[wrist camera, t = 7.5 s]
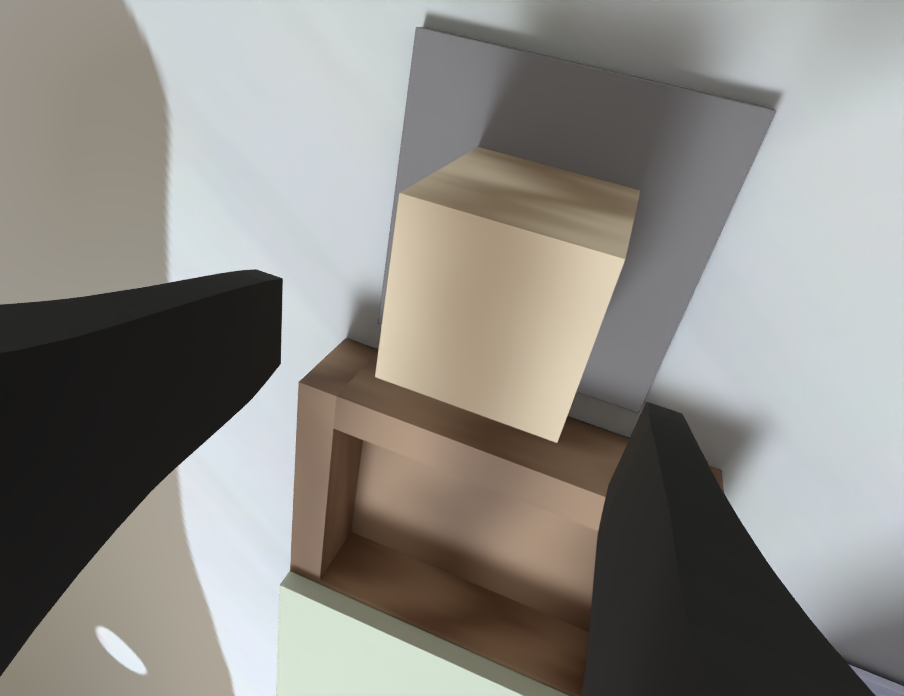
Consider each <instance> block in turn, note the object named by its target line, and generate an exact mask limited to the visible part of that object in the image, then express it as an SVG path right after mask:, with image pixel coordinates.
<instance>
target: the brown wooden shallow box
mask: <svg viewBox="0 0 904 696" xmlns="http://www.w3.org/2000/svg"><path fill="white" fill-rule="evenodd" d="M377 358H378V349H375V348H372V347H369V346H366V345H363V344H361V343H358V342H355V341H352V340H349V339H344V340H343V341H342V342H341V343H340V344H339V345H338V346H337V347H336V348H335V349H334V350H333V351H332V352H330V353H329V354H328V355H327V356H326V357H325V358H324V359H323V360H322V361H321V362H320V363H319V364H318V365H317V366H315V367H314V368H313V369H312V370H311V371H310V372H309V373H308V374H307V375H306V376H305V377H304V378H303V379H302V380H300V381H299V388H298V410H297V432H296V454H295V476H294V498H293V520H292V542H291V564H290V571H291V572H293V573H295V574H298V575H300V576H302V577H304V578H307V579H309V580H311V581H313V582H315V583H318V584H320V585H322V586H324V587H327V588H329V589H331V590H333V591H336V592H338V593H340V594H342V595H345V596H347V597H349V598H351V599H354V600H356V601H358V602H360V603H362V604H365V605H367V606H369V607H371V608H374V609H376V610H378V611H380V612H383V613H385V614H387V615H389V616H392V617H394V618H396V619H398V620H401V621H403V622H405V623H407V624H409V625H412V626H414V627H416V628H418V629H421V630H423V631H425V632H427V633H430V634H432V635H434V636H436V637H439V638H441V639H443V640H445V641H448V642H450V643H452V644H454V645H456V646H459V647H461V648H463V649H465V650H468V651H470V652H472V653H474V654H477V655H479V656H481V657H483V658H486V659H488V660H490V661H492V662H495V663H497V664H499V665H501V666H503V667H506V668H508V669H510V670H512V671H515V672H517V673H519V674H521V675H524V676H526V677H528V678H530V679H533V680H535V681H537V682H539V683H542V684H544V685H546V686H548V687H550V688H553V689H555V690H557V691H559V692H562V693H564V694H566V695H568V696H581V693H582V688H583V682H584V675H585V667H586V659H587V651H588V639H589V627H590V615H591V603H592V591H593V579H594V568H595V557H596V545H597V535H598V530H599V525H600V520H601V516H602V511H603V506H604V502H605V498H606V493H607V489H608V485H609V483H610V480H611V478H612V476H613V474H614V472H615V470H616V467H617V465H618V463H619V461H620V459H621V457H622V454H623V452H624V450H625V448H626V446H627V443H628V441H629V439H630V438H627V437H624V436H621V435H618V434H616V433H613V432H610V431H607V430H604V429H601V428H599V427H596V426H593V425H590V424H587V423H584V422H582V421H579V420H576V419H573V418H570V417H567V418H566V421H565V423H564V426H563V429H562V432H561V434H560V437H559V440H558V442H557V443H556V442H553V441H550V440H548V439H545V438H542V437H539V436H537V435H534V434H531V433H528V432H525V431H523V430H520V429H517V428H514V427H512V426H509V425H506V424H503V423H501V422H498V421H495V420H492V419H490V418H487V417H484V416H481V415H479V414H476V413H473V412H470V411H468V410H465V409H462V408H459V407H456V406H454V405H451V404H448V403H445V402H443V401H440V400H437V399H434V398H432V397H429V396H426V395H423V394H421V393H418V392H415V391H412V390H410V389H407V388H404V387H401V386H399V385H396V384H393V383H390V382H387V381H385V380H382V379H379V378H376V377H375V373H376V366H377ZM710 469H711V471H712V473H713V474H714V476H715V478H716V480H717V482H718V484H719V485H720V487H721V489H722V491H723V492H724V490H723V481H722V471H720V470H718V469H715V468H712V467H710Z"/></svg>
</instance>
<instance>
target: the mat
mask: <svg viewBox="0 0 904 696" xmlns="http://www.w3.org/2000/svg"><path fill="white" fill-rule="evenodd" d="M775 112H776V111H775V110H774V109H771V108H767V107H763V106H758V105H754V104H750V103H745V102H741V101H737V100H733V99H728V98H724V97H720V96H715V95H711V94H707V93H702V92H698V91H694V90H690V89H685V88H681V87H677V86H672V85H668V84H664V83H660V82H655V81H651V80H647V79H642V78H638V77H634V76H630V75H625V74H621V73H617V72H612V71H608V70H604V69H599V68H595V67H591V66H587V65H582V64H578V63H574V62H569V61H565V60H561V59H557V58H552V57H548V56H544V55H539V54H535V53H531V52H526V51H522V50H518V49H514V48H509V47H505V46H501V45H496V44H492V43H488V42H484V41H479V40H475V39H471V38H466V37H462V36H458V35H454V34H449V33H445V32H441V31H436V30H432V29H428V28H423V27H416V31H415V39H414V47H413V54H412V62H411V70H410V78H409V85H408V93H407V101H406V109H405V117H404V124H403V132H402V140H401V148H400V156H399V163H398V171H397V179H396V187H395V194H394V202H393V210H392V218H391V226H390V233H389V241H388V249H387V257H386V264H385V272H384V280H383V288H382V296H381V303H380V311H379V319H378V324H381V325H382V320H383V313H384V305H385V297H386V290H387V282H388V275H389V267H390V260H391V252H392V244H393V237H394V229H395V222H396V214H397V206H398V199H399V193H400V192H402V191H404V190H405V189H407V188H409V187H410V186H412V185H414V184H415V183H417V182H419V181H421V180H422V179H424V178H426V177H427V176H429V175H431V174H432V173H434V172H436V171H438V170H439V169H441V168H443V167H444V166H446V165H448V164H449V163H451V162H453V161H455V160H456V159H458V158H460V157H461V156H463V155H465V154H466V153H468V152H470V151H472V150H473V149H475V148H477V147H481V148H484V149H488V150H492V151H496V152H499V153H503V154H507V155H511V156H514V157H518V158H522V159H525V160H529V161H533V162H537V163H540V164H544V165H548V166H551V167H555V168H559V169H563V170H566V171H570V172H574V173H577V174H581V175H585V176H589V177H592V178H596V179H600V180H603V181H607V182H611V183H615V184H618V185H622V186H626V187H629V188H633V189H637V190H640V195H639V200H638V204H637V209H636V213H635V218H634V222H633V227H632V231H631V236H630V240H629V245H628V249H627V254H626V258H625V261H624V264H623V267H622V270H621V272H620V275H619V278H618V280H617V283H616V286H615V288H614V291H613V294H612V297H611V299H610V302H609V305H608V307H607V310H606V313H605V315H604V318H603V321H602V324H601V326H600V329H599V332H598V334H597V337H596V340H595V342H594V345H593V348H592V351H591V353H590V356H589V359H588V361H587V364H586V367H585V369H584V372H583V375H582V378H581V380H580V383H579V386H578V388H577V391H576V392H579V393H582V394H585V395H588V396H590V397H593V398H596V399H599V400H602V401H605V402H608V403H611V404H614V405H617V406H620V407H622V408H625V409H628V410H631V411H634V412H637V413H639V411H640V408H641V406H642V404H643V402H644V400H645V397H646V395H647V393H648V391H649V389H650V386H651V384H652V382H653V380H654V378H655V376H656V373H657V371H658V369H659V367H660V365H661V362H662V360H663V358H664V356H665V354H666V351H667V349H668V347H669V345H670V343H671V340H672V338H673V336H674V334H675V332H676V329H677V327H678V325H679V323H680V321H681V319H682V316H683V314H684V312H685V310H686V308H687V305H688V303H689V301H690V299H691V297H692V294H693V292H694V290H695V288H696V286H697V283H698V281H699V279H700V277H701V275H702V272H703V270H704V268H705V266H706V264H707V262H708V259H709V257H710V255H711V253H712V251H713V248H714V246H715V244H716V242H717V240H718V237H719V235H720V233H721V231H722V229H723V226H724V224H725V222H726V220H727V218H728V215H729V213H730V211H731V209H732V207H733V205H734V202H735V200H736V198H737V196H738V194H739V191H740V189H741V187H742V185H743V183H744V180H745V178H746V176H747V174H748V172H749V169H750V167H751V165H752V163H753V161H754V158H755V156H756V154H757V152H758V150H759V148H760V145H761V143H762V141H763V139H764V137H765V134H766V132H767V130H768V128H769V126H770V123H771V121H772V119H773V117H774V115H775Z"/></svg>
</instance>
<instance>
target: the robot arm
mask: <svg viewBox="0 0 904 696" xmlns="http://www.w3.org/2000/svg"><path fill="white" fill-rule="evenodd" d="M282 285H283V278H280V277H277V276H274V275H271V274H268V273H265V272H262V271H259V270H256V269H255V270H242V271H234V272H227V273H220V274H215V275H209V276H203V277H198V278H192V279H187V280H181V281H176V282H170V283H165V284H160V285H154V286H149V287H143V288H137V289H131V290H124V291H117V292H111V293H104V294H98V295H92V296H85V297H77V298H70V299H60V300H51V301H42V302H29V303H17V304H3V305H0V676H1V675H2V673H3V672H4V671H5V669H6V668H7V667H8V665H9V664H10V663H11V661H12V660H13V659H14V657H15V656H16V654H17V653H18V652H19V650H20V649H21V648H22V646H23V645H24V644H25V642H26V641H27V639H28V638H29V636H30V635H31V634H32V632H33V631H34V630H35V629H36V627H37V626H38V625H39V623H40V622H41V621H42V620H43V618H44V617H45V616H46V615H47V613H48V612H49V611H50V610H51V608H52V607H53V606H54V605H55V603H56V602H57V601H58V599H59V598H60V597H61V596H62V594H63V593H64V592H65V591H66V589H67V588H68V587H69V586H70V584H71V583H72V582H73V580H74V579H75V578H76V577H77V575H78V574H79V573H80V572H81V571H82V569H83V568H84V567H85V566H86V565H87V564H88V562H89V561H90V560H91V559H92V558H93V557H94V555H95V554H96V553H97V552H98V550H99V549H100V548H101V547H102V546H103V545H104V544H105V542H106V541H107V540H108V539H109V538H110V537H111V535H112V534H113V533H114V532H115V530H117V528H118V527H119V526H120V525H121V524H122V523H123V522H124V521H125V520H126V519H127V517H128V516H129V515H130V514H131V513H132V512H133V511H134V510H135V508H136V507H137V506H138V505H139V504H140V503H141V502H142V501H143V500H144V499H145V498H146V496H147V495H148V494H149V493H150V492H151V491H152V490H153V489H154V488H155V487H156V486H157V485H158V484H159V483H160V482H161V481H162V480H163V479H164V478H165V477H166V476H167V475H168V474H169V473H171V472H172V471H173V470H174V469H175V468H176V467H177V466H178V465H180V464H181V463H182V462H183V461H184V460H185V459H186V458H187V457H188V456H190V455H191V454H192V453H193V452H194V451H195V450H196V449H197V448H199V447H200V446H201V445H202V444H203V443H204V442H205V441H206V440H208V439H209V438H210V437H211V436H212V435H213V434H214V433H215V432H216V431H218V430H219V429H220V428H221V427H222V426H223V425H224V424H225V423H226V422H228V421H229V420H230V419H231V418H232V417H233V416H234V415H235V414H236V413H237V412H239V411H240V410H241V409H242V408H243V407H244V406H245V405H246V404H247V403H248V402H249V401H250V400H251V399H252V398H253V397H254V396H255V395H256V394H257V392H258V391H259V390H260V389H261V388H262V387H263V385H264V384H265V383H266V382H267V380H268V379H269V378H270V377H271V375H272V374H273V373H274V372H275V370H276V369H277V368H278V367H279V365H280V364H281V327H282ZM581 696H904V686H902V685H899V684H897V683H894V682H892V681H889V680H887V679H884V678H882V677H879V676H877V675H874V674H872V673H869V672H867V671H864V670H862V669H859V668H857V667H854V666H852V665H849V664H848V663H847V662H846V661H845V660H844V659H843V658H842V657H841V655H840V654H839V653H838V652H837V651H836V650H835V649H834V647H833V646H832V645H831V644H830V643H829V642H828V640H827V639H826V638H825V637H824V636H823V634H822V633H821V632H820V631H819V629H818V628H817V627H816V626H815V625H814V623H813V622H812V621H811V620H810V618H809V617H808V616H807V615H806V613H805V612H804V611H803V609H802V608H801V607H800V605H799V604H798V603H797V601H796V600H795V599H794V598H793V596H792V595H791V594H790V592H789V591H788V590H787V588H786V587H785V586H784V584H783V583H782V582H781V580H780V579H779V578H778V576H777V575H776V574H775V572H774V571H773V569H772V568H771V567H770V565H769V564H768V562H767V561H766V559H765V558H764V557H763V555H762V554H761V552H760V550H759V549H758V547H757V546H756V544H755V543H754V541H753V540H752V538H751V537H750V535H749V534H748V532H747V530H746V529H745V527H744V526H743V524H742V523H741V521H740V519H739V518H738V516H737V514H736V513H735V511H734V510H733V508H732V506H731V505H730V503H729V501H728V499H727V498H726V496H725V494H724V492H723V491H722V489H721V487H720V485H719V484H718V482H717V480H716V478H715V476H714V474H713V473H712V471H711V469H710V467H709V465H708V463H707V461H706V459H705V457H704V455H703V454H702V452H701V450H700V448H699V446H698V444H697V442H696V440H695V438H694V436H693V434H692V432H691V430H690V428H689V426H688V424H687V422H686V420H685V418H684V416H683V414H681V413H678V412H675V411H672V410H669V409H666V408H663V407H660V406H658V405H655V404H652V403H649V402H646V404H645V406H644V409H643V411H642V413H641V415H640V417H639V420H638V422H637V424H636V426H635V428H634V430H633V433H632V435H631V437H630V439H629V441H628V443H627V446H626V448H625V450H624V452H623V454H622V457H621V459H620V461H619V463H618V465H617V467H616V470H615V472H614V474H613V476H612V478H611V480H610V483H609V485H608V489H607V493H606V498H605V502H604V506H603V511H602V516H601V520H600V525H599V530H598V535H597V545H596V557H595V568H594V579H593V591H592V603H591V615H590V627H589V639H588V651H587V659H586V667H585V675H584V682H583V688H582V693H581Z"/></svg>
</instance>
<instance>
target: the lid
mask: <svg viewBox="0 0 904 696" xmlns="http://www.w3.org/2000/svg"><path fill="white" fill-rule="evenodd" d="M276 696H568V695H566V694H564V693H562V692H559V691H557V690H555V689H553V688H550V687H548V686H546V685H544V684H542V683H539V682H537V681H535V680H533V679H530V678H528V677H526V676H524V675H521V674H519V673H517V672H515V671H512V670H510V669H508V668H506V667H503V666H501V665H499V664H497V663H495V662H492V661H490V660H488V659H486V658H483V657H481V656H479V655H477V654H474V653H472V652H470V651H468V650H465V649H463V648H461V647H459V646H456V645H454V644H452V643H450V642H448V641H445V640H443V639H441V638H439V637H436V636H434V635H432V634H430V633H427V632H425V631H423V630H421V629H418V628H416V627H414V626H412V625H409V624H407V623H405V622H403V621H401V620H398V619H396V618H394V617H392V616H389V615H387V614H385V613H383V612H380V611H378V610H376V609H374V608H371V607H369V606H367V605H365V604H362V603H360V602H358V601H356V600H354V599H351V598H349V597H347V596H345V595H342V594H340V593H338V592H336V591H333V590H331V589H329V588H327V587H324V586H322V585H320V584H318V583H315V582H313V581H311V580H309V579H307V578H304V577H302V576H300V575H298V574H295V573H293V572H291V571H290V572H289V573H288V574H287V576H286V577H285V579H284V580H283V581H282V583H281V584H280V594H279V627H278V660H277V692H276Z"/></svg>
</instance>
